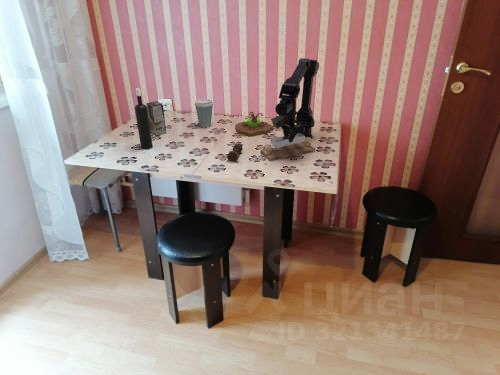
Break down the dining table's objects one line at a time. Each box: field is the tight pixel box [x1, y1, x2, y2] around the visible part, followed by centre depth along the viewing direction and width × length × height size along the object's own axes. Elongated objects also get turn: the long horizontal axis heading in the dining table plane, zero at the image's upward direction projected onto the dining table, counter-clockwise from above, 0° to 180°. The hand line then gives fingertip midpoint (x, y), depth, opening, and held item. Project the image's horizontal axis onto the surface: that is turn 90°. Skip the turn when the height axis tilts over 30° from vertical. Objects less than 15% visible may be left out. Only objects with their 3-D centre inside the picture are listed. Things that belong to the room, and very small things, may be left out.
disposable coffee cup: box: [194, 98, 214, 129], centre depth 213 cm, size 11×11×15 cm
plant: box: [234, 111, 274, 138], centre depth 208 cm, size 20×20×11 cm
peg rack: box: [260, 137, 316, 162], centre depth 182 cm, size 25×10×6 cm, turn 114°
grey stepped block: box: [270, 133, 305, 148], centre depth 180 cm, size 16×6×3 cm, turn 114°
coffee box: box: [145, 100, 167, 136], centre depth 205 cm, size 9×6×16 cm
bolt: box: [226, 142, 243, 163], centre depth 179 cm, size 6×5×15 cm
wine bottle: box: [134, 87, 154, 150], centre depth 183 cm, size 6×6×30 cm
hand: (288, 140), depth 180 cm, fingers closed on grey stepped block, 4 cm apart
